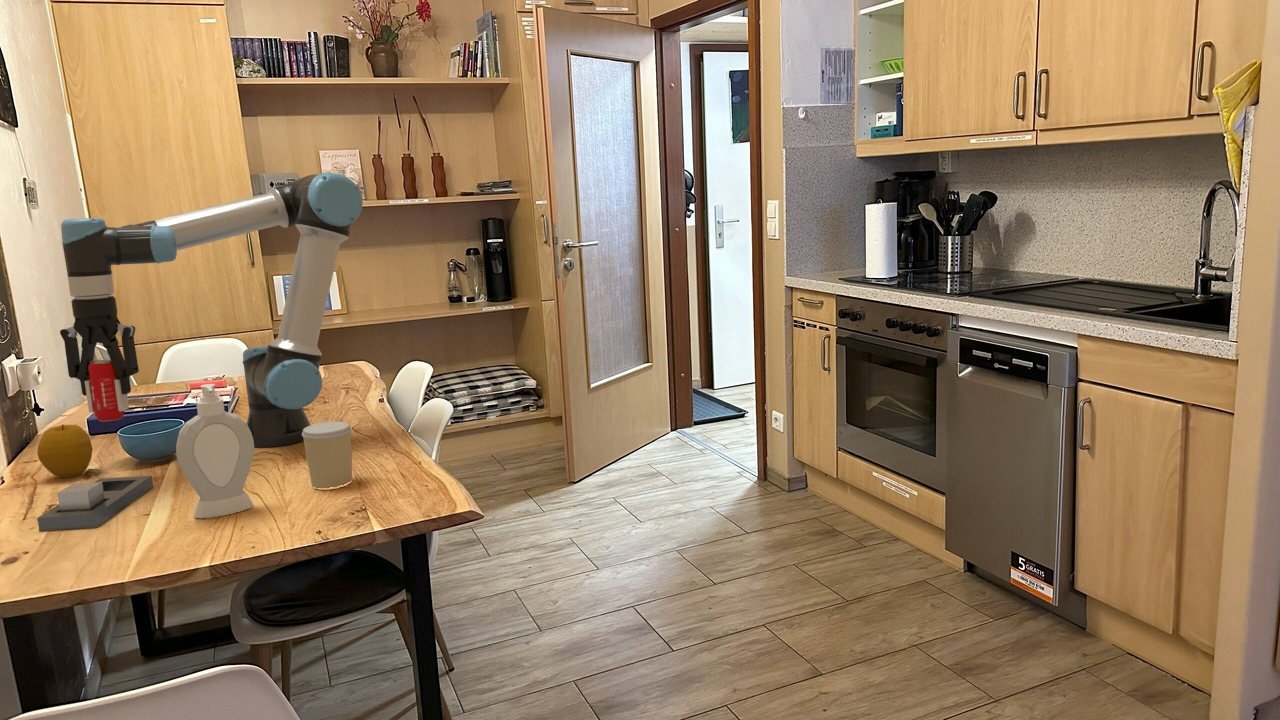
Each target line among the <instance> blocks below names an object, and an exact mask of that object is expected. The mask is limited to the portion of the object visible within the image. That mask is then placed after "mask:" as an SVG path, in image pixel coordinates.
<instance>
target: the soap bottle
mask: <svg viewBox="0 0 1280 720" xmlns="http://www.w3.org/2000/svg"><path fill="white" fill-rule="evenodd" d="M215 386H216V384H215V383H206V384H201V385H200V388H201V392H202V393H201V394H202V395H201V396H199V400H198V401H196V410H197V415H195V416H193V417H192V418H191V419H189V420H188V421H186V422H185V423H184V424H183V426H182V427H181V429H180V430H179V432H178V435H177V440H176V445H175V449H176V450H175V453H176V454H175V455H176V460H177V463H178V467H179V468H180V470H181V472H182V473H183V475H184V477H185V479H186V480H187V482H188V483H189V484H190V486H191V487H192V489H193V490H194V491H195V493H196V494H197V495H198V496H199V499H198V501H197V503H196V505H195V508H194V511H193V517H194V518H195V519H198V518H199V519H201V520H204V519H203V518H206V519H213V518H212V517H215V518H220V517H219V516H222V517H226V516H225V515H227V516H230V515H229V514H231V515H234V514H233V513H235V514H237V513H236V512H239V513H241V512H240V511H242V512H244V511H243V510H245V511H247V510H246V509H248V510H249V508H250V509H251V508H253V506H254V503H253V501H252V499H251V498H250V496H249V495H248V493H247V492H246V491H244V487H245V484H246V482H247V480H248V479H247V478H248V477H249V474H250V470H251V467H252V462H253V460H254V456H255V455H254V454H255V447H254V440H253V437H252V433H251V431H250V429H249V427H248V425H247V421H246V420H245V419H243V418H242V417H240V416H239V414H235V413H233V412H228V411H225V404H224V398H221V397H220V396H219V394H216V390H215V389H216V388H215Z"/></svg>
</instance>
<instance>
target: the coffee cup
mask: <svg viewBox="0 0 1280 720" xmlns="http://www.w3.org/2000/svg"><path fill="white" fill-rule="evenodd" d="M302 437H303V439H304V440H303V445H304V451H305V457H306V461H307V466H308V472H309V478H310V482H311V483H310V484H311V487H312V486H313V487H316V488H330V487H337V486H340V485H344V484H346V483H348V482H350V481H351V480H352V481H353V458H352V457H353V454H352V453H353V452H352V450H353V449H352V426H351V424H349V423H348V422H345V421H325V422H319V423H314V424H310V426H308V427H306V428H304V429H303V432H302ZM313 487H312V488H313Z"/></svg>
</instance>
